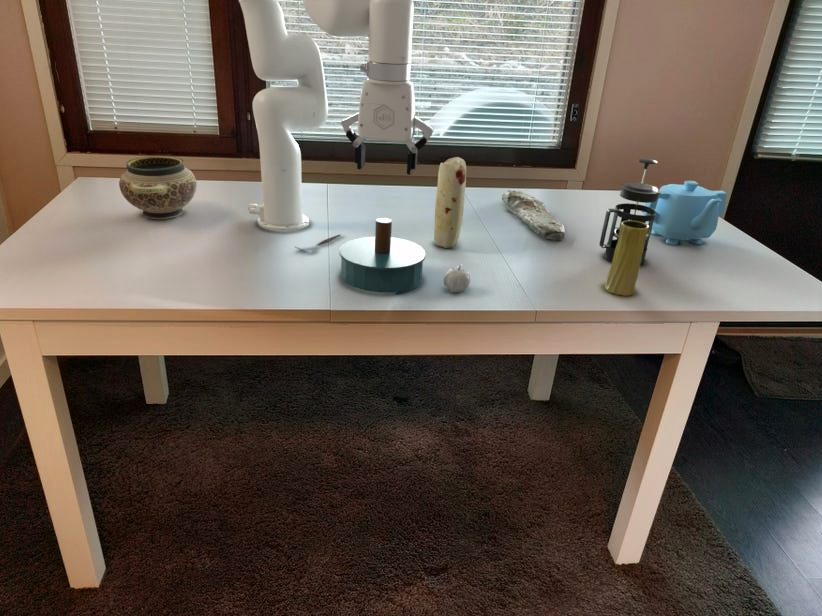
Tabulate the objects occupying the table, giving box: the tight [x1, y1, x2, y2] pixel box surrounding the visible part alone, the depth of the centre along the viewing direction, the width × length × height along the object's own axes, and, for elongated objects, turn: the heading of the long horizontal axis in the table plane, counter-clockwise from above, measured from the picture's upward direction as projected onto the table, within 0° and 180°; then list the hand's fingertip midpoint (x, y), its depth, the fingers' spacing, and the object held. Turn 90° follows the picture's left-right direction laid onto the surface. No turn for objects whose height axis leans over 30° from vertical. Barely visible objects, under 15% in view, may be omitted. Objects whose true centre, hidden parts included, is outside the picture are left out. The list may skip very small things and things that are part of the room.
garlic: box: [443, 263, 471, 294], centre depth 130 cm, size 6×5×5 cm
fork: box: [293, 234, 341, 253], centre depth 149 cm, size 3×16×2 cm, turn 149°
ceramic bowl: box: [118, 155, 198, 220], centre depth 160 cm, size 24×18×15 cm
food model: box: [433, 156, 467, 249], centre depth 150 cm, size 10×7×20 cm
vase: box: [604, 220, 649, 297], centre depth 132 cm, size 6×6×14 cm
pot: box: [340, 257, 424, 295], centre depth 134 cm, size 17×17×6 cm
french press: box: [598, 158, 662, 267], centre depth 146 cm, size 12×9×23 cm
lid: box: [338, 217, 427, 270], centre depth 131 cm, size 18×18×8 cm
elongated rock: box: [501, 189, 566, 241], centre depth 174 cm, size 35×5×10 cm
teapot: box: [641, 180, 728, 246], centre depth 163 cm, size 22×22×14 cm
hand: (385, 170), depth 124 cm, fingers open, 9 cm apart
